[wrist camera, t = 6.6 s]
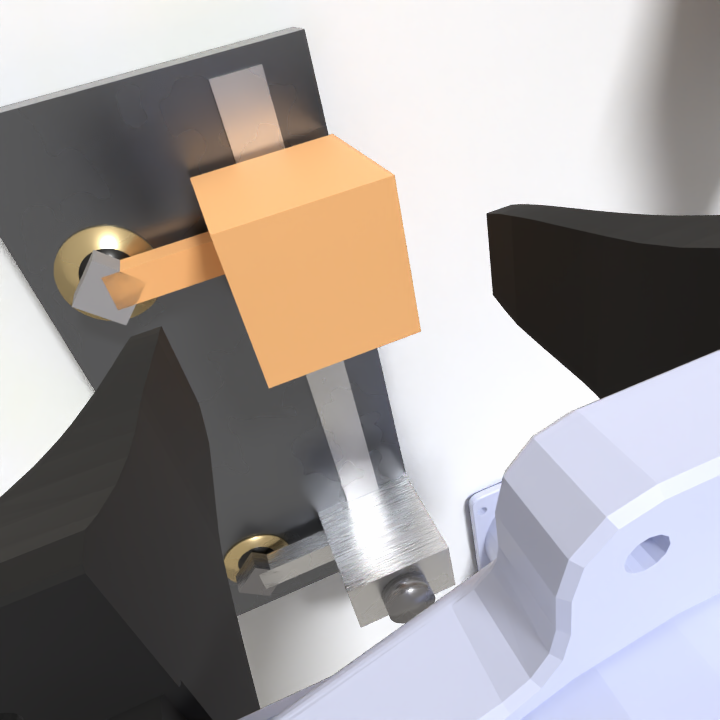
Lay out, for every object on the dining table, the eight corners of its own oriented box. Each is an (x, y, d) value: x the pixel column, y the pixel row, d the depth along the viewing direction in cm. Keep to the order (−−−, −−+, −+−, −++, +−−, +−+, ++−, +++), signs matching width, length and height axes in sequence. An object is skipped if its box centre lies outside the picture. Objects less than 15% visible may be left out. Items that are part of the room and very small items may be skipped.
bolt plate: (409, 517, 28) (469, 626, 23) (230, 594, 26) (253, 727, 22) (292, 26, 16) (368, 40, 11) (-53, 121, 14) (-144, 186, 9)
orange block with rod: (361, 264, 18) (421, 331, 14) (107, 353, 17) (103, 450, 13) (332, 134, 16) (394, 175, 12) (34, 225, 14) (5, 302, 11)
